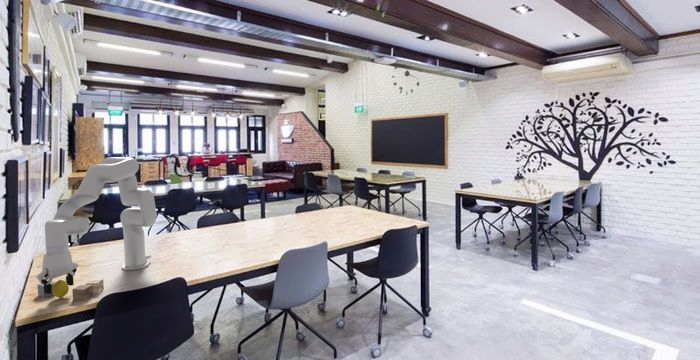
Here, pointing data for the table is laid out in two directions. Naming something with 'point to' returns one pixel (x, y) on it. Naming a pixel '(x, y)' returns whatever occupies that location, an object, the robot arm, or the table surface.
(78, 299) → the walnut cube
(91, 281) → the maple cube
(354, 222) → the table surface
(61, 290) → the lemon
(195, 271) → the table surface
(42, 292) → the blue-grey cube
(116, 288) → the table surface
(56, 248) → the robot arm
